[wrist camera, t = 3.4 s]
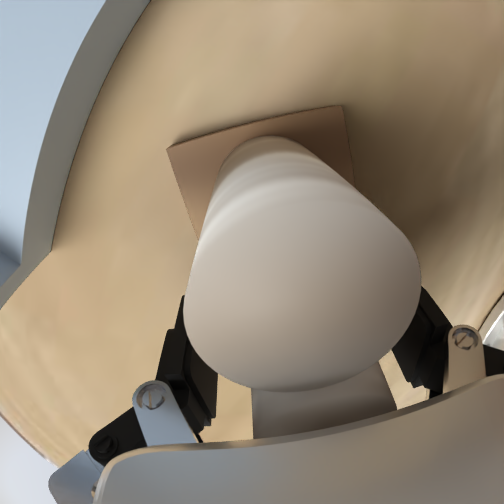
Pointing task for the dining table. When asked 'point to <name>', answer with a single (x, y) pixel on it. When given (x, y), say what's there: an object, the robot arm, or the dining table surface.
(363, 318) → the white domed cylinders
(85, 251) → the dining table surface
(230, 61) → the dining table surface
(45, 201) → the light blue tray
